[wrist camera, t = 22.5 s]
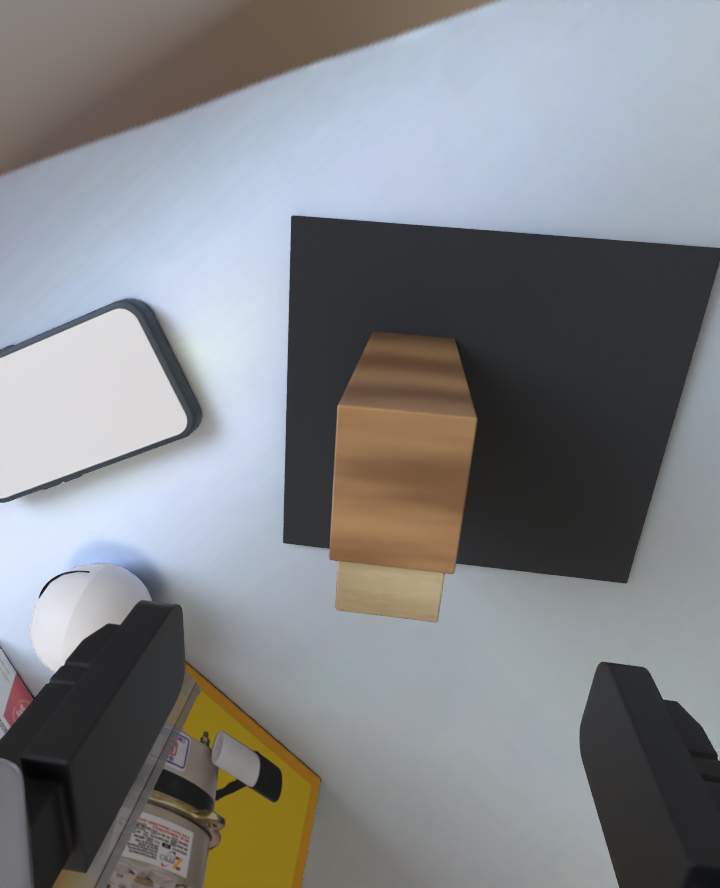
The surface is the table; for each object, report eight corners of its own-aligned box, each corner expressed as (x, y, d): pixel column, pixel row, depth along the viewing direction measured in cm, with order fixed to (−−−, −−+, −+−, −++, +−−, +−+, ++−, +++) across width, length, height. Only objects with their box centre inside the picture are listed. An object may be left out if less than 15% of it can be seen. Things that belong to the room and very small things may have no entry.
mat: (718, 248, 29) (723, 248, 28) (623, 578, 36) (627, 583, 36) (293, 215, 30) (291, 215, 30) (284, 538, 38) (282, 543, 37)
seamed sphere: (141, 529, 39) (81, 594, 32) (188, 616, 41) (141, 694, 34) (22, 563, 41) (-58, 631, 34) (73, 644, 43) (7, 723, 36)
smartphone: (144, 288, 33) (-70, 381, 36) (132, 291, 31) (-90, 387, 35) (211, 425, 36) (7, 499, 39) (203, 433, 34) (-10, 510, 37)
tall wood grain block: (361, 470, 35) (372, 331, 32) (437, 478, 34) (455, 338, 31) (325, 616, 22) (337, 405, 19) (446, 631, 21) (478, 418, 18)
